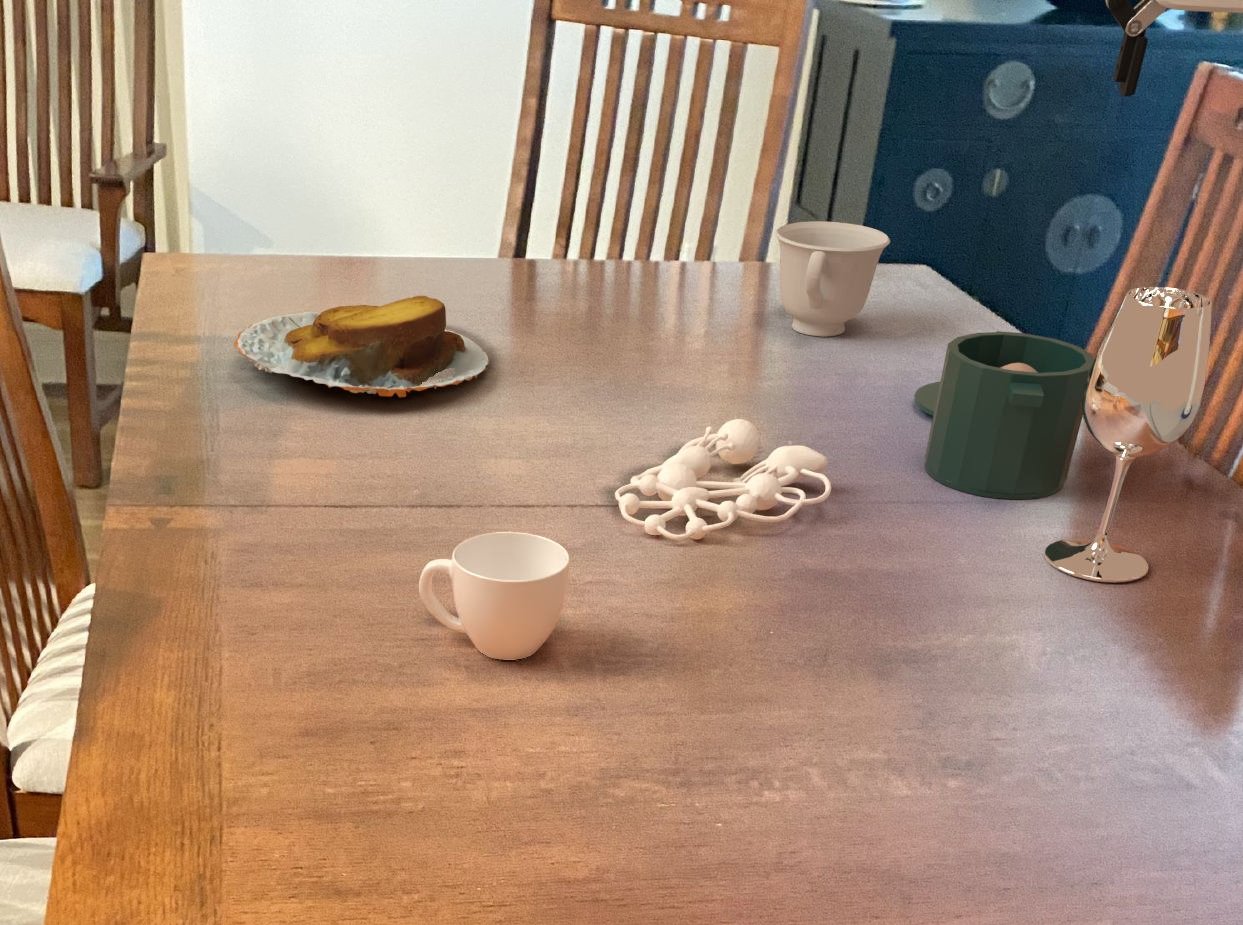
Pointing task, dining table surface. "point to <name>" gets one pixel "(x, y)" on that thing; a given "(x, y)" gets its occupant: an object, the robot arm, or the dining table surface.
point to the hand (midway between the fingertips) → (1194, 97)
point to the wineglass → (1139, 407)
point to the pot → (1007, 415)
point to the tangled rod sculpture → (756, 490)
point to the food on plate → (365, 347)
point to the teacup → (826, 273)
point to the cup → (502, 591)
